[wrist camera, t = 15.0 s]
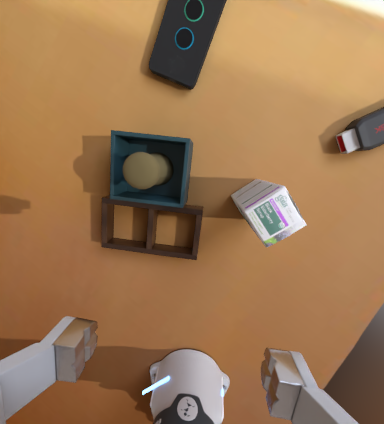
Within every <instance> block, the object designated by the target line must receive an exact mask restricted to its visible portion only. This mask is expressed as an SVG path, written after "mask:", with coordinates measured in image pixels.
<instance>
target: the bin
mask: <svg viewBox="0 0 384 424" xmlns="http://www.w3.org/2000/svg"><path fill="white" fill-rule="evenodd" d="M192 151H193V142H192V141H191V139H188V138H179V137H169V136H160V135H151V134H142V133H132V132H123V131H114V130H111V168H110V199H114V200H123V201H131V202H139V203H147V204H155V205H163V206H171V207H179V208H183V207H184V205H185V204H186V202H187V198H188V189H189V179H190V170H191V160H192ZM136 152H145V153H148V154H151V153H156V152H159V153H162V154H165V155H166V156H168V157H169V159H170V160H171V161H172V164H173V175H172V178H171V179H170V181H168V182H167V183H166V184H163V185H153V186H152V187H150V188H147V189H137V188H134V187H132V186H131V185H129V184H128V183H127V181H126V180H125V178H124V175H123V164H124V162H125V160H126V158H127V157H129V156H130V155H131V154H133V153H136Z"/></svg>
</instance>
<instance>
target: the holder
mask: <svg viewBox="0 0 384 424" xmlns="http://www.w3.org/2000/svg"><path fill="white" fill-rule="evenodd" d="M114 204H115V205H123V206H131V207H139V208H146V209H149V213H148V229H147V242H140V241H133V240H125V239H118V238H113V229H114ZM158 210H162V211H170V212H178V213H186V214H194V215H197V216H196V225H195V233H194V242H193V249H192V248H185V247H177V246H170V245H162V244H155V239H156V225H157V212H158ZM202 213H203V207H200V206H192V205H184V207H183V208H179V207H171V206H163V205H155V204H147V203H139V202H131V201H123V200H114V199H110V195H109V196H106V197H103V198H102V247H104V248H112V249H119V250H126V251H133V252H141V253H148V254H155V255H163V256H170V257H177V258H185V259H192V260H197V253H198V245H199V237H200V229H201V221H202Z"/></svg>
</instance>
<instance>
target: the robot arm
mask: <svg viewBox="0 0 384 424" xmlns="http://www.w3.org/2000/svg"><path fill="white" fill-rule="evenodd" d="M97 328H98V326H97V322H96V321H92V320H87V319H82V318H75V317H69V316H66V317H64V318H63V319H62V320H61V321H60V322H59V323H58V324H57V325H56V326H55V327H54V328H53V329H52V330H51V331H50V332H49V333H48V334H47V335H46V337H45V338H44V339H43V340H42V341H41V342H40V343H34V344H32V345H30V346H28V347H26V348H24V349H22V350H20V351H18V352H16V353H14V354H12V355H10V356H8V357H6V358H4V359H2V360H0V424H6V420H7V419H8V418H10V417H11V416H12V415H13V414H15V413H16V412H17V411H19V410H20V409H21V408H22V407H24V406H25V405H26V404H27V403H29V402H30V401H31V400H33V399H34V398H35V397H36V396H38V395H39V394H40V393H42V392H43V391H44V390H45V389H47V388H48V387H49V386H51V385H52V384H53V383H54V382H56V380H60V381H68V382H75V383H76V381H77V379H78V378H79V376H80V374H81V373H82V371H83V370H84V368H85V362H86V361H87V360H89V359H90V358H91V356H92V355H93V353H94V350H95V348H96V345H97V337H98V336H97V334H96V333H95V331H96V330H97ZM264 356H265V360H264V361H263V362H262V365H261V380H262V385H263V388H264V389H265V390H266V391H267V395H266V401H267V405H268V409H269V413H270V416H273V417H277V418H282V419H287V420H292V421H291V422H292V423H293V424H358V423H357V422H356V421H355V420H354V419H353V418H352V417H351V416H350V415H349V414H348V413H347V412H346V411H345V410H344V409H343V408H341V407H340V406H339V405H338V404H337V403H336V402H335V401H334V400H333V399H332V398H331V397H330V396H329V395H328V394H327V393H326V392H325V391H324V390H322V389H319V388H318V386H317V384H316V382H315V380H314V378H313V376H312V374H311V372H310V370H309V368H308V366H307V364H306V362H305V360H304V358H303V356H302V354H301V353H300V352H294V351H287V350H280V349H273V348H266V349H265V352H264ZM150 376H151V382H152V386H150V387H149V388H147V389H145V390H143V392H142V395H144V394H145V393H147V392H149V391H151V390H152V389H153V392H152V396H151V401H150V407H151V411H152V415H153V418H154V422H153V424H220V423H222V420H223V417H224V409H223V397H224V395H225V393H226V391H227V389H228V387H229V384H230V379H229V377H228V376H227V375H226V374H224V373H223V372H222V371H221V370H220V369H219V367H218V366H217V364H216V363H215V361H214V360H213V359H212V358H211V357H209V356H208V355H206V354H204V353H202V352H200V351H196V350H191V349H183V350H177V351H174V352H172V353H170V354H169V355H167V356H166V357H165V358H164V359H163V360H162V361H160V362H157V363H154V364H152V365H151V367H150Z"/></svg>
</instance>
